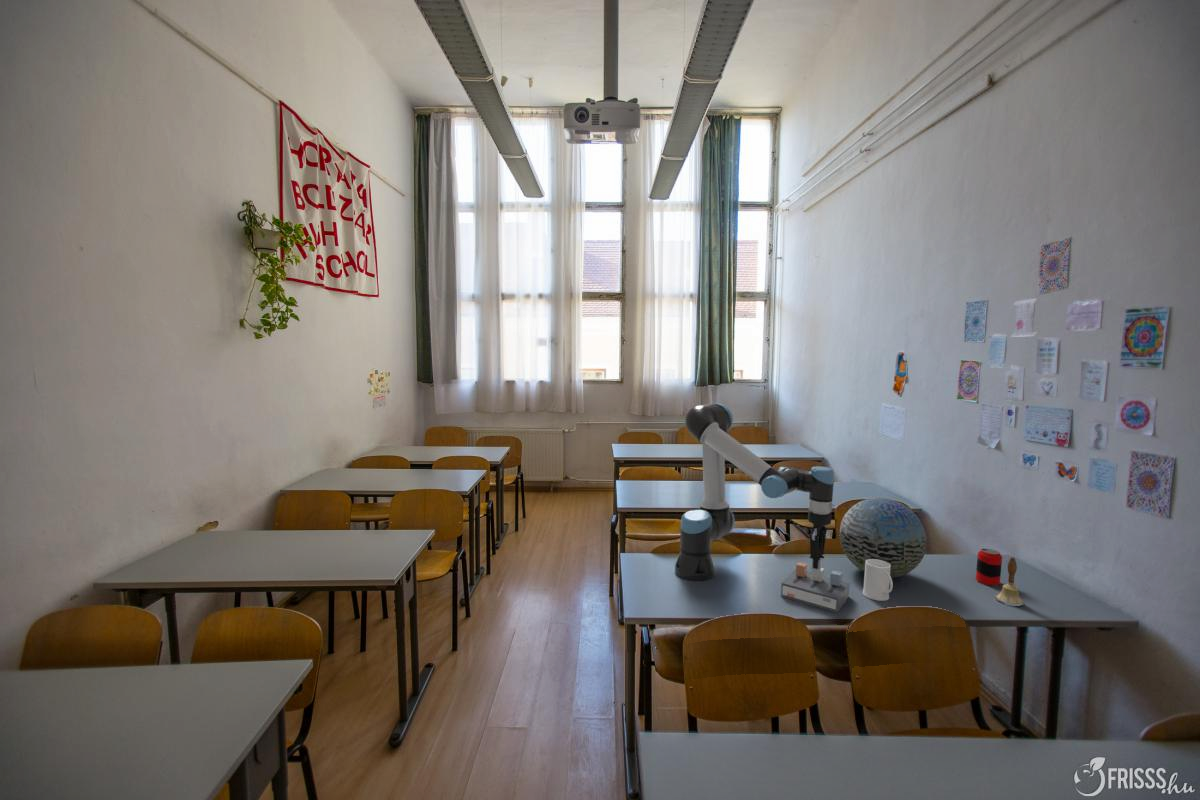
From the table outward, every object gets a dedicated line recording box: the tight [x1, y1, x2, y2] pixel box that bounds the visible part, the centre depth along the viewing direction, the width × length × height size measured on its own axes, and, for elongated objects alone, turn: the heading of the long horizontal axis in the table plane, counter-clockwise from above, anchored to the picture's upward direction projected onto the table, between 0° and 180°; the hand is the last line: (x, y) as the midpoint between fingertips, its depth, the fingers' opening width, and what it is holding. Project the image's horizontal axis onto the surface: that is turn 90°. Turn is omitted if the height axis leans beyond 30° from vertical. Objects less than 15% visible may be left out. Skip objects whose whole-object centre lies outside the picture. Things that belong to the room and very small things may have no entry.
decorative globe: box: [839, 497, 928, 579], centre depth 216 cm, size 30×30×30 cm
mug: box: [862, 559, 894, 602], centre depth 197 cm, size 12×8×12 cm
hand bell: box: [995, 556, 1024, 604], centre depth 195 cm, size 8×8×16 cm
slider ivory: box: [812, 567, 825, 582], centre depth 199 cm, size 3×3×4 cm
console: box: [780, 568, 850, 613], centre depth 197 cm, size 19×16×5 cm
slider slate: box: [829, 570, 843, 586], centre depth 196 cm, size 3×3×4 cm
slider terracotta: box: [795, 561, 808, 577], centre depth 203 cm, size 3×3×4 cm
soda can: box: [975, 548, 1003, 586], centre depth 212 cm, size 8×8×12 cm
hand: (815, 576), depth 198 cm, fingers closed
